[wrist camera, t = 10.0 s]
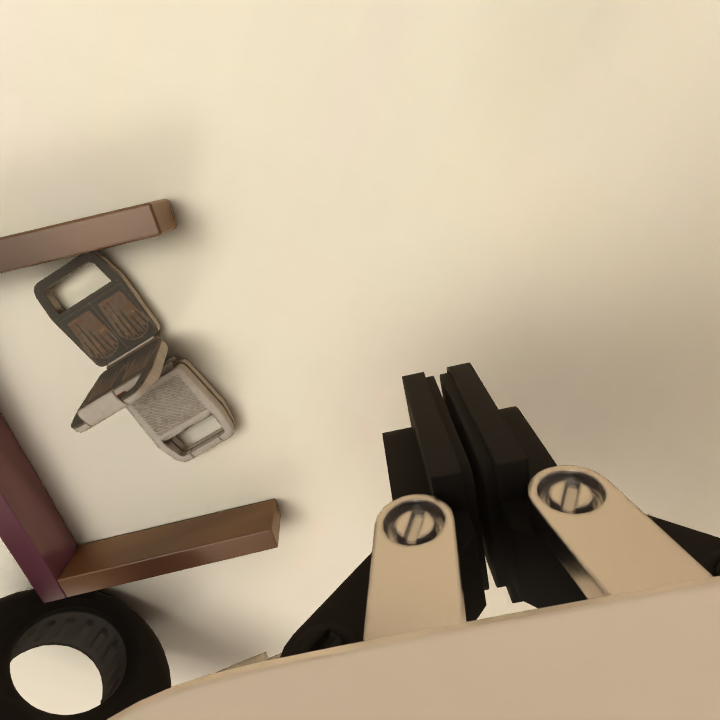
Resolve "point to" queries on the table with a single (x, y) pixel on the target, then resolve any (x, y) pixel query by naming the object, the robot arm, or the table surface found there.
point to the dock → (32, 503)
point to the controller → (82, 649)
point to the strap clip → (134, 364)
